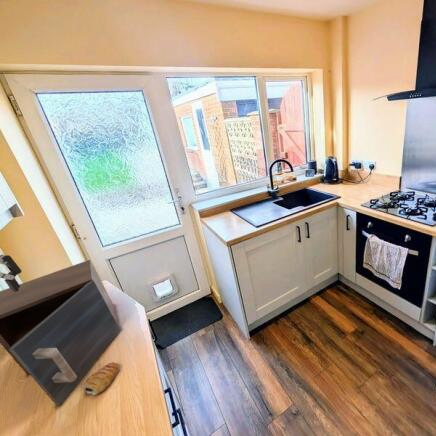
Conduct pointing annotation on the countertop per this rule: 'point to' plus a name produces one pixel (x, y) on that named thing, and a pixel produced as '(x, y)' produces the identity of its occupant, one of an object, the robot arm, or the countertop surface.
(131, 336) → the countertop surface
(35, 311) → the cupboard
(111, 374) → the pastry
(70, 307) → the door
